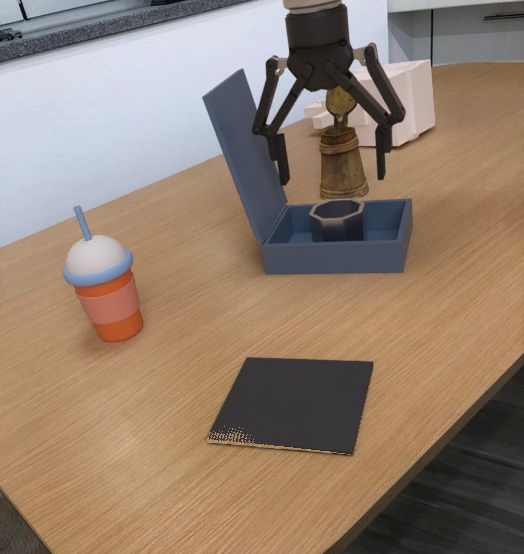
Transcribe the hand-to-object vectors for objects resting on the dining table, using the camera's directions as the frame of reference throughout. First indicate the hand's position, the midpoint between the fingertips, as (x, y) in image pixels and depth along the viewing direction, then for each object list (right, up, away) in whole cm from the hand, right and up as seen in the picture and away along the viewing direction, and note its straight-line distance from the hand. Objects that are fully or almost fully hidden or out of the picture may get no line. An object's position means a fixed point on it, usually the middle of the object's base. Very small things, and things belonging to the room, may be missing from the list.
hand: (332, 179), depth 84 cm
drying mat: (-6, -29, -20) cm, 36 cm away
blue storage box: (+2, -9, +6) cm, 12 cm away
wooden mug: (+6, +6, +28) cm, 30 cm away
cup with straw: (-29, -21, -1) cm, 36 cm away
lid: (-11, +4, +1) cm, 12 cm away
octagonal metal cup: (+2, -9, +6) cm, 11 cm away
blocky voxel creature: (+14, +25, +52) cm, 59 cm away
